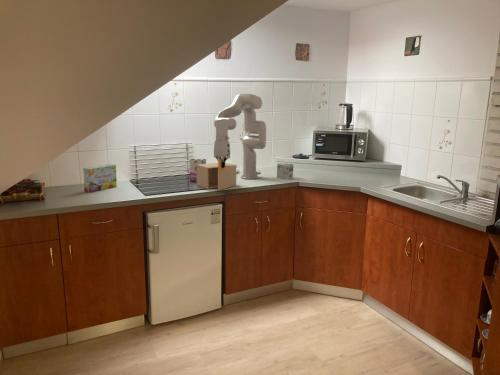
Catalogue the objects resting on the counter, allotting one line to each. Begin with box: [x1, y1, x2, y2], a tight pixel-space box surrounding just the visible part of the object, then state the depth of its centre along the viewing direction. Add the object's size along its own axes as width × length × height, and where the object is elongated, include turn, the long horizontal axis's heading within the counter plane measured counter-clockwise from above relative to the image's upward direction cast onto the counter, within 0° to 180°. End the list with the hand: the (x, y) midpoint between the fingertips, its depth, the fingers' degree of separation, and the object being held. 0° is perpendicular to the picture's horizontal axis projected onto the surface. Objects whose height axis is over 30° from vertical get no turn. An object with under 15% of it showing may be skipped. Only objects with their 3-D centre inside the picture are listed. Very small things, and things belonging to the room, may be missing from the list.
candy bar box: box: [189, 157, 207, 183], centre depth 297 cm, size 11×5×16 cm, turn 62°
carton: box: [196, 162, 235, 190], centre depth 286 cm, size 22×14×14 cm, turn 128°
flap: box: [217, 157, 238, 192], centre depth 277 cm, size 22×2×21 cm, turn 151°
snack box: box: [82, 163, 117, 193], centre depth 268 cm, size 21×6×15 cm, turn 148°
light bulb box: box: [276, 162, 294, 180], centre depth 315 cm, size 11×7×11 cm, turn 58°
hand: (221, 167), depth 269 cm, fingers closed
